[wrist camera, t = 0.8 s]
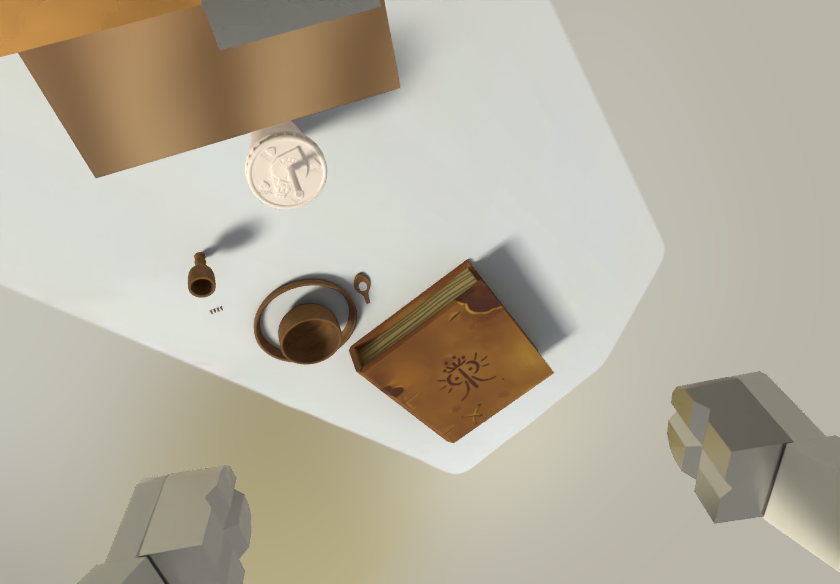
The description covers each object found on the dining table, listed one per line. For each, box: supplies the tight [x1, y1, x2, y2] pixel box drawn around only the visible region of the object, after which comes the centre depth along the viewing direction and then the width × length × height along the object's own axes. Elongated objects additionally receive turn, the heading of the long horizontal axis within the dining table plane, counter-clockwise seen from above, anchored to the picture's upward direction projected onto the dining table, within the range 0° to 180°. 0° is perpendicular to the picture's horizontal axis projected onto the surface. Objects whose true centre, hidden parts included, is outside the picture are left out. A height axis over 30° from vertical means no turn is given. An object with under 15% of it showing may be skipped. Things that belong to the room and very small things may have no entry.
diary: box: [349, 260, 554, 443], centre depth 76 cm, size 23×19×6 cm
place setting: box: [188, 252, 370, 364], centre depth 62 cm, size 18×20×6 cm
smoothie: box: [245, 120, 327, 209], centre depth 46 cm, size 6×6×14 cm
